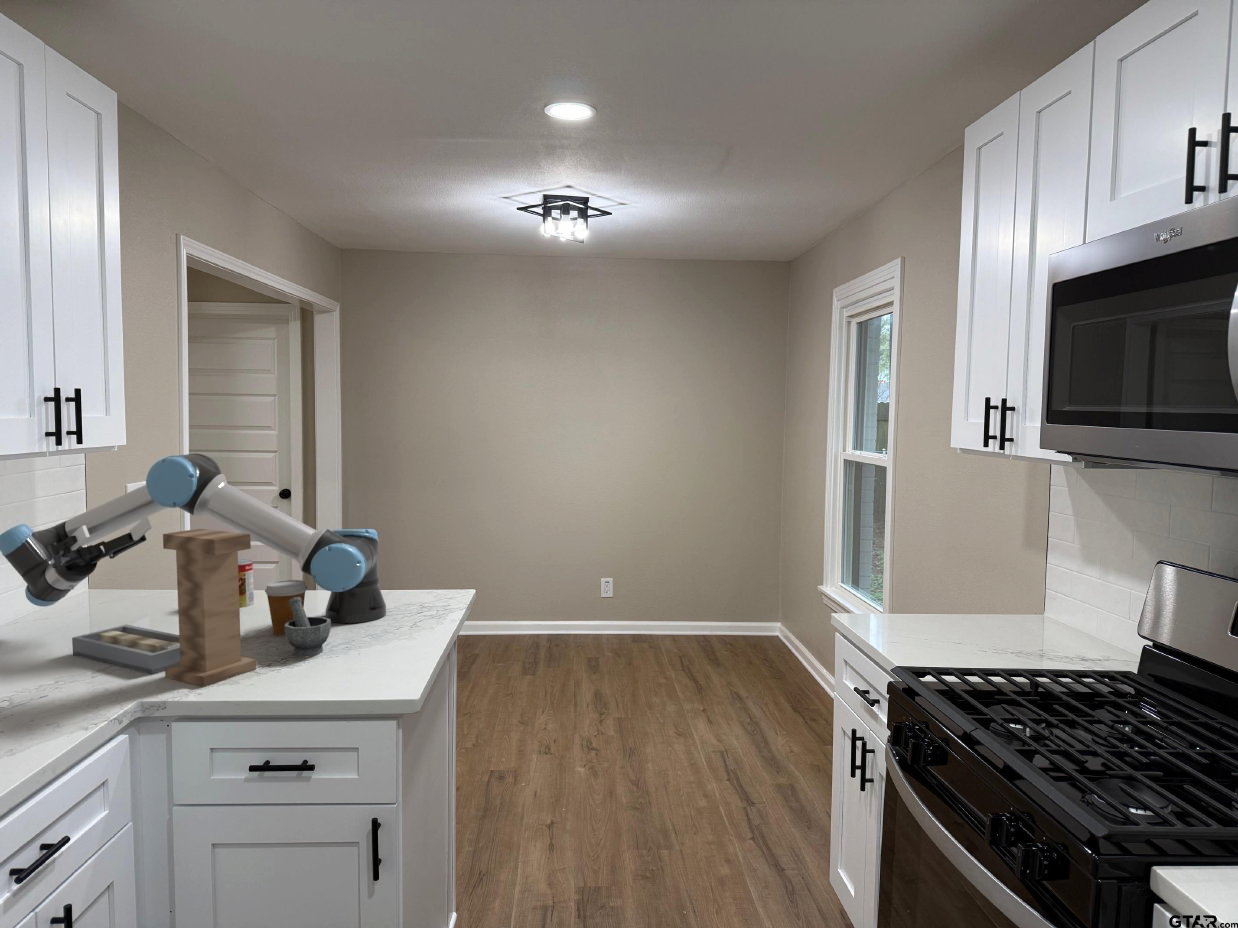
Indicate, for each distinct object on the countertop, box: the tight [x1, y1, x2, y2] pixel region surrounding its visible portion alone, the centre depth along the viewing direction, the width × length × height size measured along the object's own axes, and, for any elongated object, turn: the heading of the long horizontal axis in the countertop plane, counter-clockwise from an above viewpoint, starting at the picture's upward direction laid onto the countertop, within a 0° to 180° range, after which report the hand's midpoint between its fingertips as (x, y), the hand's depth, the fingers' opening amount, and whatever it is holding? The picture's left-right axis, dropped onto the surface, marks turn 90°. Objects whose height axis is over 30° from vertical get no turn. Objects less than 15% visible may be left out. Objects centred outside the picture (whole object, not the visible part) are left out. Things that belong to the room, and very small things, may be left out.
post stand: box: [162, 528, 257, 688], centre depth 166 cm, size 16×12×29 cm
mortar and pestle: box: [284, 597, 332, 657], centre depth 181 cm, size 11×9×12 cm
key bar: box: [99, 630, 180, 653], centre depth 177 cm, size 24×4×3 cm, turn 64°
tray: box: [71, 624, 180, 675], centre depth 177 cm, size 28×12×4 cm, turn 63°
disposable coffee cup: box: [264, 579, 308, 636], centre depth 197 cm, size 10×10×12 cm
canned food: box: [238, 558, 255, 609], centre depth 224 cm, size 8×8×12 cm
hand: (118, 526), depth 178 cm, fingers open, 13 cm apart
